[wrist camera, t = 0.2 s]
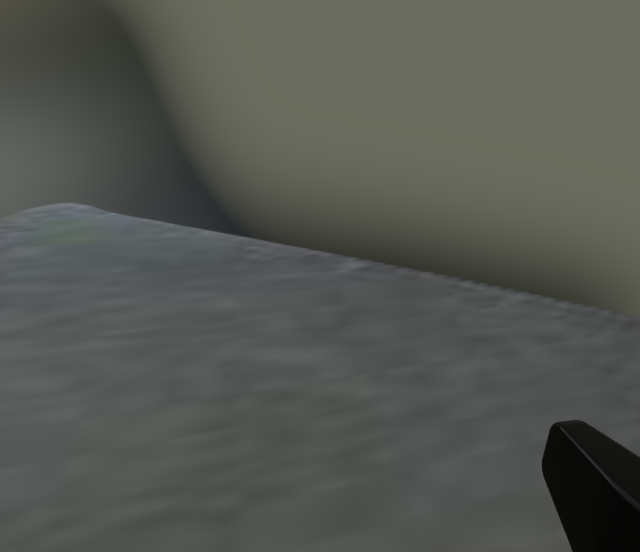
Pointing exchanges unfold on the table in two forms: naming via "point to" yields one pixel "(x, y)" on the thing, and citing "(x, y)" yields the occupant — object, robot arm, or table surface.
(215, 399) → the table surface
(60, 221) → the table surface
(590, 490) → the robot arm
